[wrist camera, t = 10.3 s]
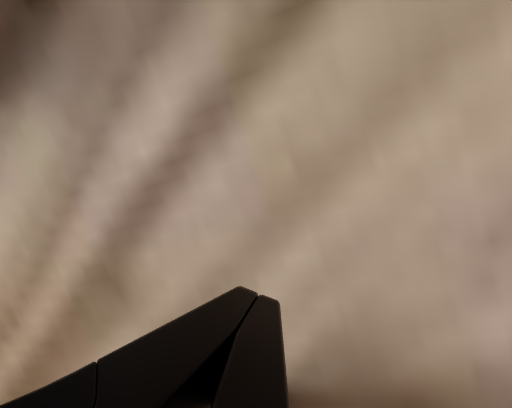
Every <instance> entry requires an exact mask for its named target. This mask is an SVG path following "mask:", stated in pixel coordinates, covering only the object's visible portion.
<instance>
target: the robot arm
mask: <svg viewBox="0 0 512 408" xmlns="http://www.w3.org/2000/svg"><path fill="white" fill-rule="evenodd" d="M0 408H289V397H288V387H287V376H286V365H285V354H284V344H283V333H282V322H281V311H280V304H279V302H278V301H277V300H275V299H272V298H270V297H267V296H265V295H259V296H258V294H257V293H256V292H254V291H252V290H249V289H247V288H244V287H241V286H239V287H236V288H234V289H232V290H230V291H228V292H226V293H224V294H222V295H220V296H219V297H217V298H215V299H213V300H211V301H209V302H207V303H205V304H203V305H201V306H199V307H198V308H196V309H194V310H192V311H190V312H188V313H186V314H184V315H182V316H180V317H178V318H177V319H175V320H173V321H171V322H169V323H167V324H165V325H163V326H161V327H159V328H157V329H156V330H154V331H152V332H150V333H148V334H146V335H144V336H142V337H140V338H138V339H136V340H134V341H133V342H131V343H129V344H127V345H125V346H123V347H121V348H119V349H117V350H115V351H113V352H112V353H110V354H108V355H106V356H104V357H102V358H100V359H98V361H97V363H96V362H92V363H90V364H88V365H86V366H84V367H82V368H81V369H79V370H77V371H75V372H73V373H71V374H69V375H67V376H65V377H63V378H61V379H59V380H56V381H54V382H52V383H50V384H48V385H46V386H44V387H42V388H40V389H37V390H35V391H33V392H30V393H28V394H26V395H23V396H21V397H19V398H16V399H14V400H12V401H10V402H7V403H5V404H2V405H0Z"/></svg>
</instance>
